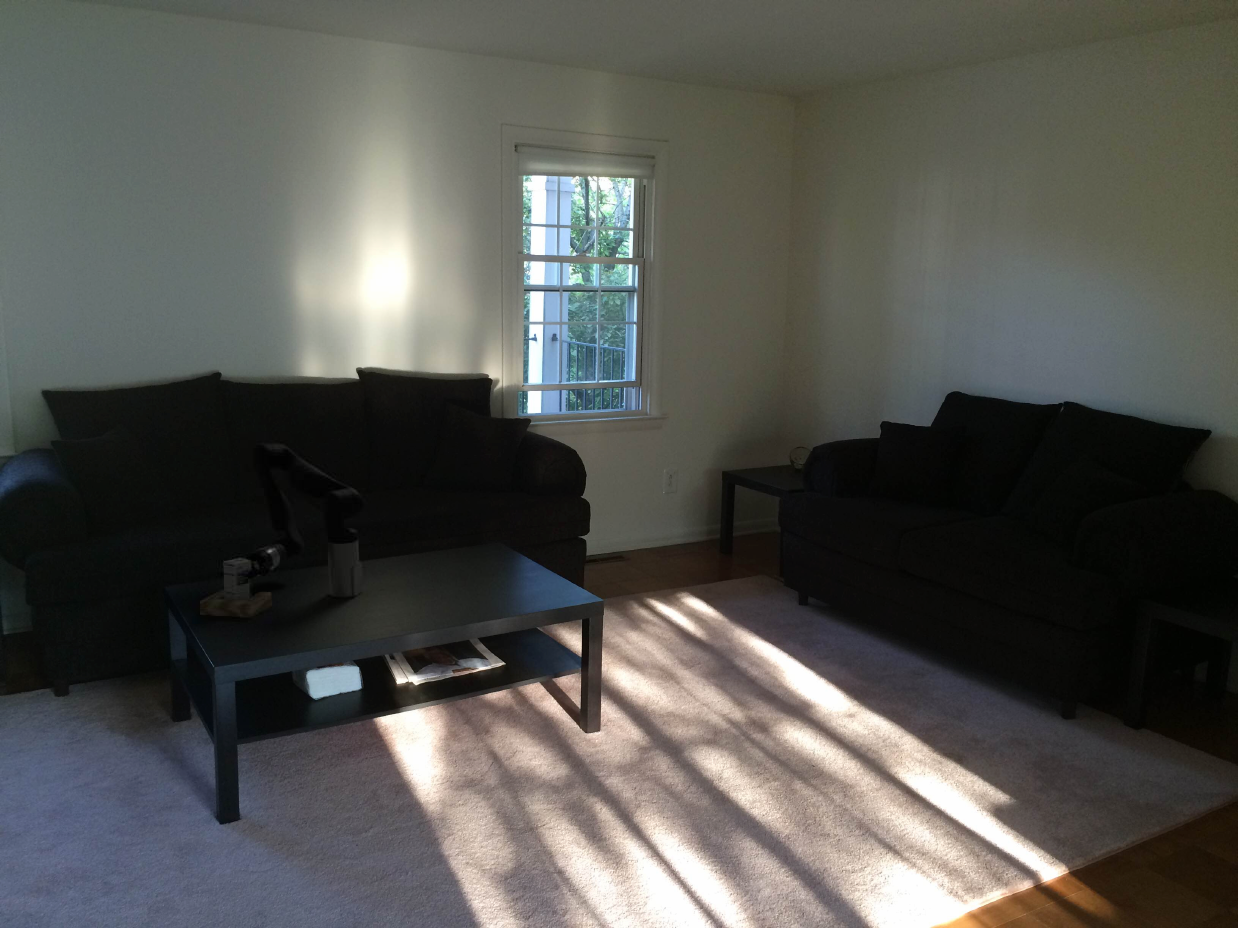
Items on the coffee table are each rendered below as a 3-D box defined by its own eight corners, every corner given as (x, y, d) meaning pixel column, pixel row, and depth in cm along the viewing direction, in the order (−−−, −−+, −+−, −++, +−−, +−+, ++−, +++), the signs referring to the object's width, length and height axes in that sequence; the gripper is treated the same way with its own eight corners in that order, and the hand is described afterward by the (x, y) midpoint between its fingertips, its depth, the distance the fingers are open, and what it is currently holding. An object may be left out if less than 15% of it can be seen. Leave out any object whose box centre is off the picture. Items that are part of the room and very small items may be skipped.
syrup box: (236, 611, 291) (235, 563, 289) (223, 607, 294) (223, 560, 292) (252, 607, 296) (252, 559, 294) (240, 603, 299) (239, 557, 297)
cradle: (271, 604, 298) (271, 592, 297) (251, 617, 286) (250, 604, 286) (222, 602, 300) (221, 589, 300) (200, 614, 289) (199, 601, 288)
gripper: (240, 548, 308) (212, 561, 292) (283, 550, 306) (257, 563, 290) (241, 571, 309) (213, 586, 294) (284, 573, 307) (258, 588, 292)
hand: (235, 575), depth 292 cm, fingers open, 8 cm apart
